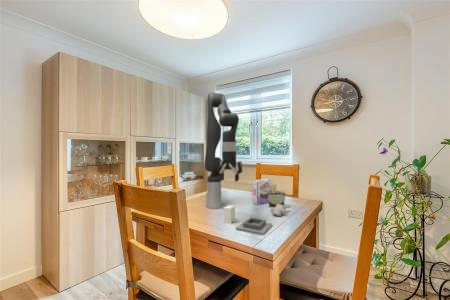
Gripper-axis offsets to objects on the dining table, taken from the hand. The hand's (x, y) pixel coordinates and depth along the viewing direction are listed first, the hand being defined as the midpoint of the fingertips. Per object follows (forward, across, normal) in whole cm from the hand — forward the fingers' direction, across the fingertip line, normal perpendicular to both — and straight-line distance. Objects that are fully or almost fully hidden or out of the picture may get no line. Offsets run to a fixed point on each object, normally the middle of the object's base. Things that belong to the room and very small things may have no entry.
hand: (229, 180), depth 117 cm
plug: (+22, 0, 0) cm, 22 cm away
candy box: (+22, -3, -45) cm, 50 cm away
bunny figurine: (+22, -20, -26) cm, 40 cm away
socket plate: (+22, -15, +2) cm, 27 cm away
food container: (+22, -14, -40) cm, 48 cm away
